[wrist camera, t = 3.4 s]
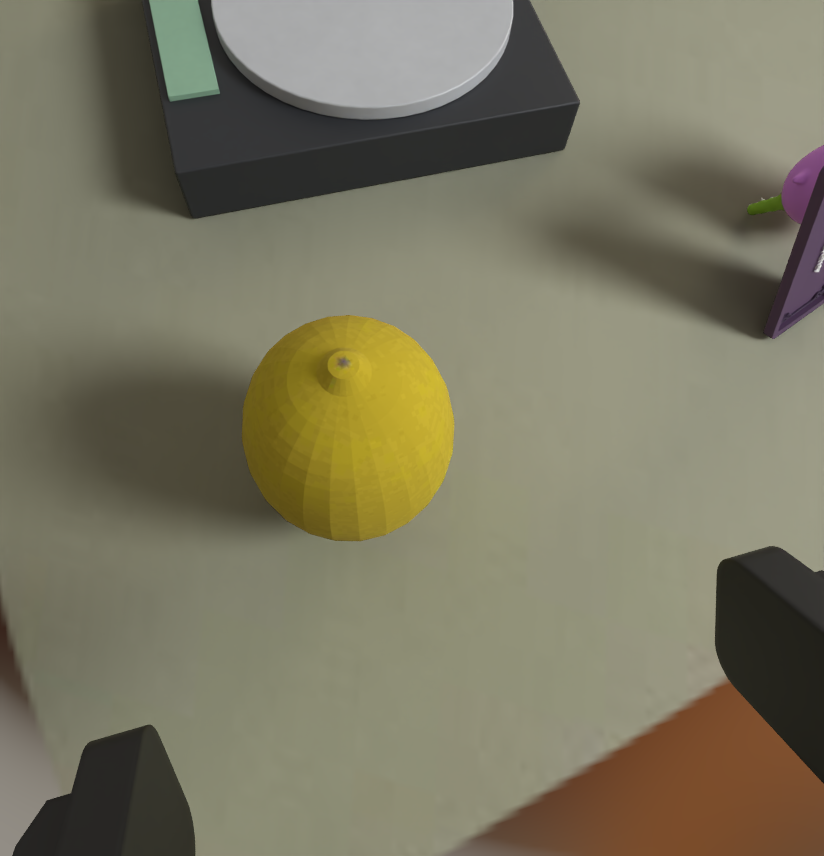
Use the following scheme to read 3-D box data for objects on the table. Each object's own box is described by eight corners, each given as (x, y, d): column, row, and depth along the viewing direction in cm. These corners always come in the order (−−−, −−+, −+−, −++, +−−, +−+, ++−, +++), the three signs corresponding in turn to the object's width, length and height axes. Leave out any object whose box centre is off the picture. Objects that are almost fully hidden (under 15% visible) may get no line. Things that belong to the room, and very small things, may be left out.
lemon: (471, 457, 22) (519, 333, 15) (377, 602, 20) (379, 541, 13) (333, 373, 23) (313, 216, 16) (231, 503, 21) (154, 394, 14)
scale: (192, 220, 25) (169, 159, 23) (146, -11, 30) (122, -85, 27) (565, 150, 28) (586, 88, 25) (468, -55, 32) (477, -127, 29)
